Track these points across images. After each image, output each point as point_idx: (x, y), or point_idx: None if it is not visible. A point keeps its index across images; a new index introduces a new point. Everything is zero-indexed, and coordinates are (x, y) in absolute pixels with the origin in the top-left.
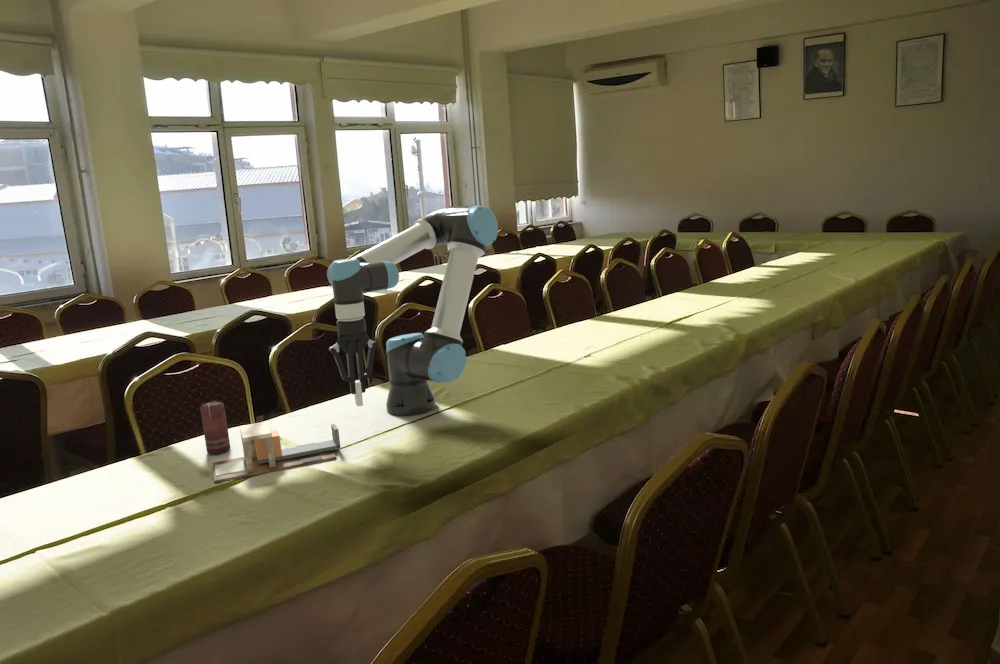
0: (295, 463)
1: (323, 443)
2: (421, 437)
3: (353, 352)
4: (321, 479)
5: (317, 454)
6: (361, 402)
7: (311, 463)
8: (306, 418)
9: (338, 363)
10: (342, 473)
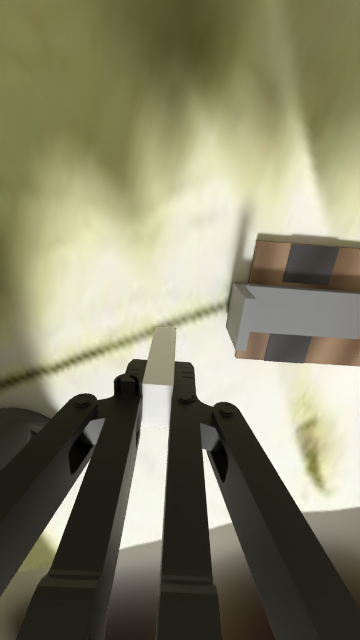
0: (352, 258)
1: (263, 320)
2: (28, 259)
3: None
4: (349, 101)
5: (286, 286)
6: (159, 332)
7: (317, 245)
8: (219, 495)
9: (308, 536)
10: (285, 111)
